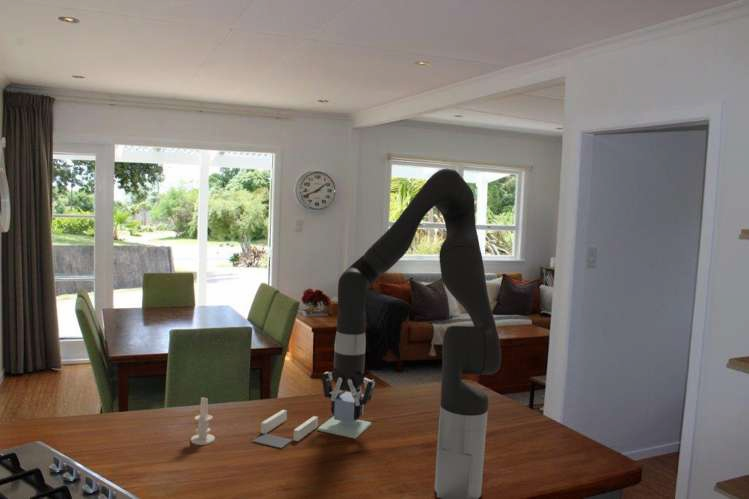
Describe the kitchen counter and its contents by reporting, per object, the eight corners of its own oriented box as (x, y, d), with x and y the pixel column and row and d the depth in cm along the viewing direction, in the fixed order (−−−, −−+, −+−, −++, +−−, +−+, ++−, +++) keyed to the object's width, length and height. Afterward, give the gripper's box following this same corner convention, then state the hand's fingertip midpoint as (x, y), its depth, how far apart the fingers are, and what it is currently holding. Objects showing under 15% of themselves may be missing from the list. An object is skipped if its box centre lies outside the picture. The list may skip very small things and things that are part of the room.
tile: (355, 438, 144) (355, 436, 144) (317, 430, 148) (317, 428, 148) (371, 424, 153) (371, 422, 153) (335, 417, 157) (335, 414, 157)
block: (352, 423, 148) (353, 403, 147) (333, 419, 150) (335, 399, 149) (363, 413, 154) (364, 394, 154) (345, 410, 156) (346, 391, 156)
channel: (286, 450, 135) (286, 439, 135) (248, 441, 139) (248, 430, 139) (317, 426, 150) (318, 416, 150) (282, 419, 153) (282, 409, 153)
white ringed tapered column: (204, 433, 142) (205, 390, 141) (219, 440, 139) (221, 395, 138) (185, 440, 137) (187, 395, 136) (201, 447, 134) (202, 401, 133)
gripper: (382, 350, 150) (378, 417, 151) (330, 342, 155) (326, 407, 156) (371, 357, 143) (367, 427, 144) (316, 348, 148) (313, 416, 149)
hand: (346, 416), depth 150 cm, fingers closed on block, 5 cm apart
